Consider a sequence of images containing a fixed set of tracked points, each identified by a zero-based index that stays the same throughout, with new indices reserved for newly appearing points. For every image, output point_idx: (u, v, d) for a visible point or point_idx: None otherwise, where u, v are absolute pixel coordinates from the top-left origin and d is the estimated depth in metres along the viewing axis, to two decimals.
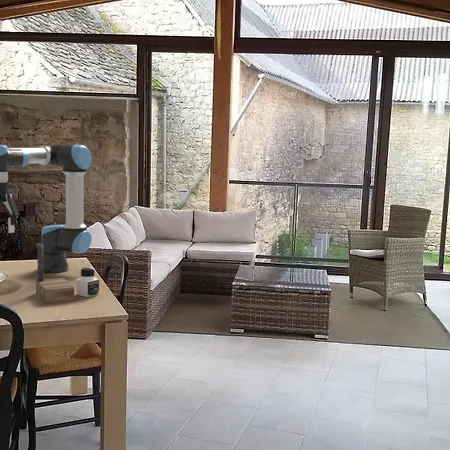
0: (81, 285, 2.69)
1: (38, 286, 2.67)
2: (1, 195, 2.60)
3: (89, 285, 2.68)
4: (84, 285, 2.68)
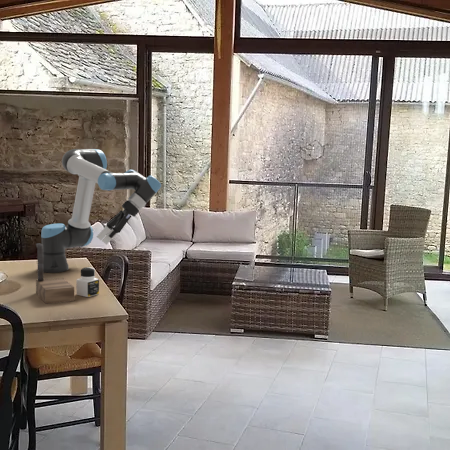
0: (81, 285, 2.69)
1: (38, 286, 2.67)
2: None
3: (89, 285, 2.68)
4: (84, 285, 2.68)
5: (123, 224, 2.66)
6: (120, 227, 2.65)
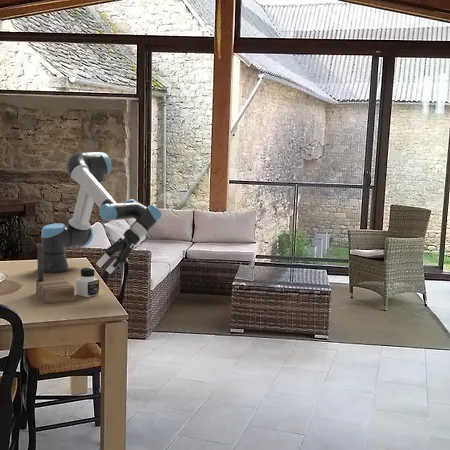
0: (81, 285, 2.69)
1: (38, 286, 2.67)
2: None
3: (89, 285, 2.68)
4: (84, 285, 2.68)
5: (127, 254, 2.69)
6: (124, 257, 2.68)
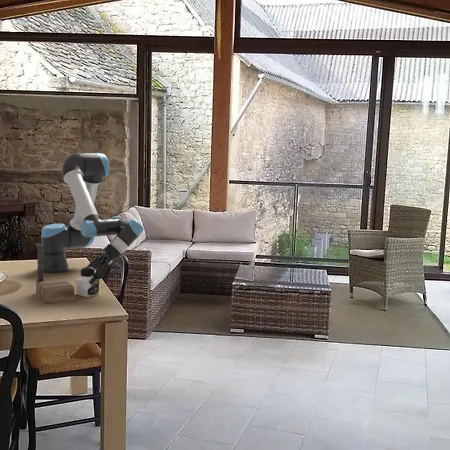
0: (81, 285, 2.69)
1: (38, 286, 2.67)
2: None
3: None
4: None
5: (104, 271, 2.67)
6: (101, 274, 2.66)
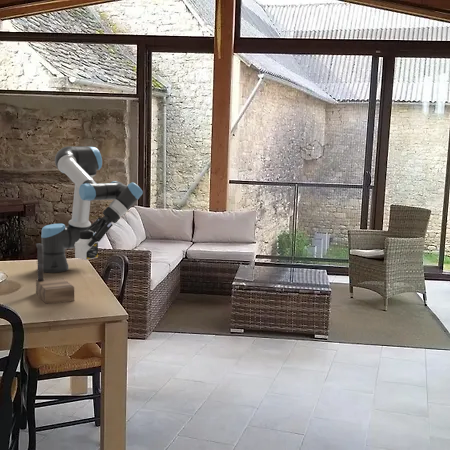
0: (80, 248, 2.66)
1: (38, 286, 2.67)
2: None
3: None
4: None
5: (103, 233, 2.64)
6: (100, 236, 2.63)
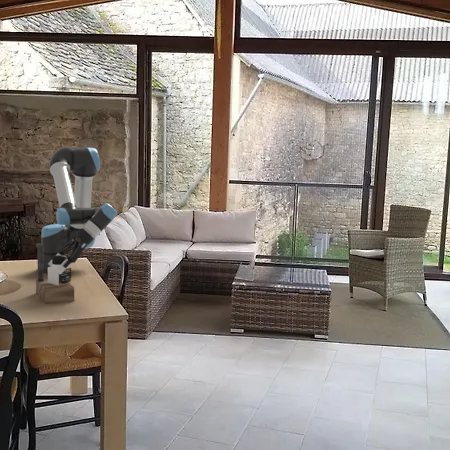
0: (53, 273, 2.63)
1: (38, 286, 2.67)
2: None
3: None
4: (55, 273, 2.62)
5: (78, 254, 2.61)
6: (75, 257, 2.59)
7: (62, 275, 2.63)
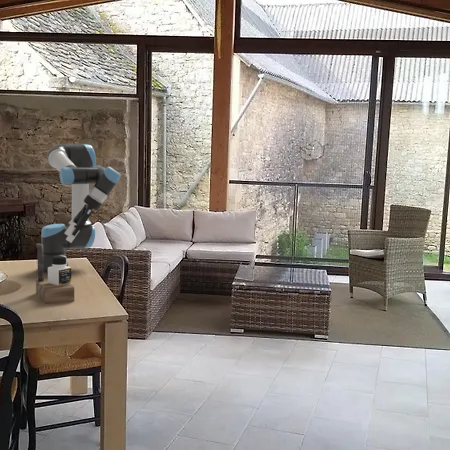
0: (53, 273, 2.63)
1: (38, 286, 2.67)
2: None
3: (60, 273, 2.62)
4: (55, 273, 2.62)
5: (84, 221, 2.66)
6: (81, 224, 2.65)
7: (62, 275, 2.63)
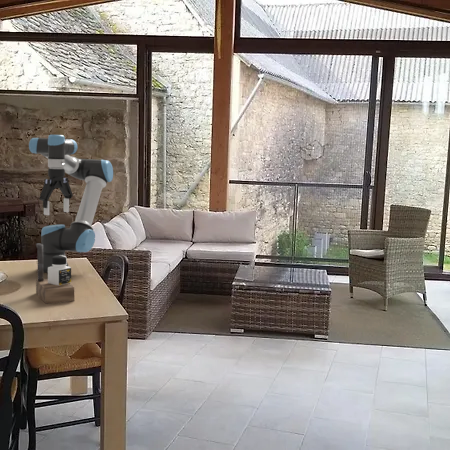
0: (53, 273, 2.63)
1: (38, 286, 2.67)
2: (62, 180, 2.89)
3: (60, 273, 2.62)
4: (55, 273, 2.62)
5: (44, 190, 2.80)
6: (42, 195, 2.80)
7: (62, 275, 2.63)
